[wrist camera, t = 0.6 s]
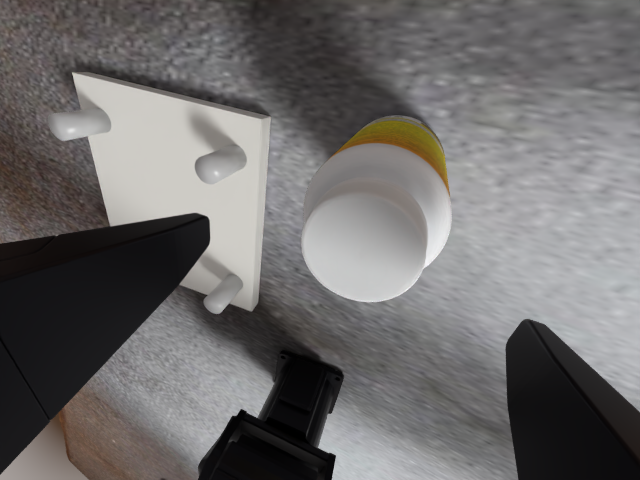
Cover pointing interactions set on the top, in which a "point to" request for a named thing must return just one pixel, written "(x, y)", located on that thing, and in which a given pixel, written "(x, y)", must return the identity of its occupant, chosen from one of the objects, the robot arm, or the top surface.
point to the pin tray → (180, 173)
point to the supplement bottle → (378, 210)
